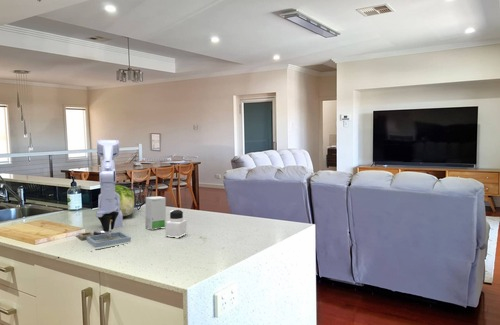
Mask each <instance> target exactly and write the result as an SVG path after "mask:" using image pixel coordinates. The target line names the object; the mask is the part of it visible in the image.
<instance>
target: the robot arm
mask: <svg viewBox="0 0 500 325" xmlns="http://www.w3.org/2000/svg"><path fill="white" fill-rule="evenodd" d="M96 151H97V155H98V157H100V158H102V160H101V162H100V172H99V174H98V175H99V185H100V186H99V188H100V193H99V194H98V200H97V201H98V203H97V204H98V205H97V207H98V211H97V212H96V215H95V216H96V218H98V220H99V221H100V224H101V229H103V231H105V232H108V231H109V226H110V220H111V219H112V222H111V231H112V230H114V229H115V228H121V227H124V226H123V225H124V224H123V222H124V221H123V219H124V217H123V215H122V212H121V210H119V209H120V198H119V194H118V193H116V192H115V185H117V184H116V183H117V172H116V163H115V158H117V157H119V155H120V140H119V139H97V140H96ZM115 197H116V198H115Z"/></svg>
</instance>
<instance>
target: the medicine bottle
mask: <svg viewBox="0 0 500 325" xmlns="http://www.w3.org/2000/svg"><path fill="white" fill-rule="evenodd" d="M183 214H184V211H182V210H181V209H172V210H170V211H169V217H168V218H169V220H167V221H165V236H166V235H170V236H180V235H182V234H184V233H186V234H187V219H184V218H183V217H184V215H183Z"/></svg>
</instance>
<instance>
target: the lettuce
mask: <svg viewBox="0 0 500 325" xmlns="http://www.w3.org/2000/svg"><path fill="white" fill-rule="evenodd" d="M115 192H116V193H118V194H119V198H120V209H119V210H121V212H122V215H123V218H124V217H126V216H129V215H131V214H132V213H133V212H134V210H135V203H136V201H135V200H136V199H135V195H134V192H133V191H132V190H131V189H130V188H128V186H125V185H121V184H115ZM115 198H116V197H115Z"/></svg>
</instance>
